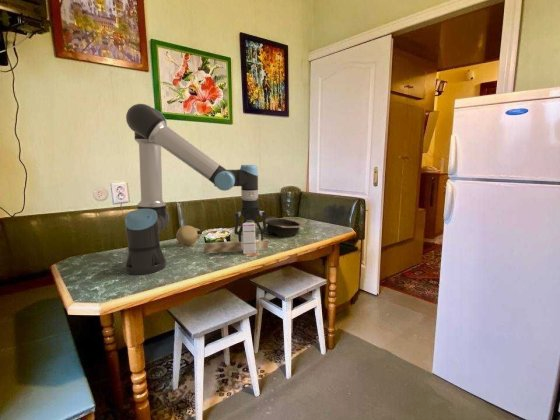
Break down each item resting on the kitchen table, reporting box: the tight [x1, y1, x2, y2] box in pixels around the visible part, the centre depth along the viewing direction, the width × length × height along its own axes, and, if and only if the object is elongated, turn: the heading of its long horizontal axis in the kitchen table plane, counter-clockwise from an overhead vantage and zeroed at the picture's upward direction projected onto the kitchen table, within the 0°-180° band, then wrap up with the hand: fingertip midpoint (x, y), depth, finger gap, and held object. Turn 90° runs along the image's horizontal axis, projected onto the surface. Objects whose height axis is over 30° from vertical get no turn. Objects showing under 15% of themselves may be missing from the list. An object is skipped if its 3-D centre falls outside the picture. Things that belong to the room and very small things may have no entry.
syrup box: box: [241, 220, 257, 255], centre depth 141 cm, size 6×6×14 cm
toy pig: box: [175, 225, 202, 247], centre depth 152 cm, size 10×12×11 cm
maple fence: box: [203, 238, 269, 260], centre depth 140 cm, size 30×12×4 cm, turn 100°
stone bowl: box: [265, 215, 306, 238], centre depth 174 cm, size 25×25×9 cm
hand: (251, 247), depth 142 cm, fingers open, 8 cm apart
